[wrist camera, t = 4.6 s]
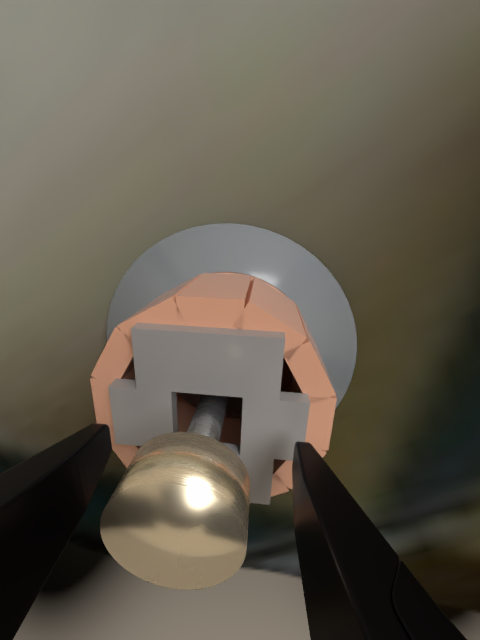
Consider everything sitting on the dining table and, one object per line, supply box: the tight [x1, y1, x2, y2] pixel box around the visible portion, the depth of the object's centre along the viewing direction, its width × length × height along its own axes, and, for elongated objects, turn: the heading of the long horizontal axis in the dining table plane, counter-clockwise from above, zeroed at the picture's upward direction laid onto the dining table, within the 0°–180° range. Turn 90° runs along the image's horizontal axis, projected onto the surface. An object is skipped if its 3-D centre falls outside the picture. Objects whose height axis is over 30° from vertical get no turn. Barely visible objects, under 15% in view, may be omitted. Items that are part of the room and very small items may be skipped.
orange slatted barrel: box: [90, 272, 337, 505], centre depth 12 cm, size 10×8×5 cm
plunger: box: [100, 369, 283, 590], centre depth 10 cm, size 5×5×8 cm
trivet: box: [107, 223, 357, 408], centre depth 14 cm, size 12×12×1 cm
